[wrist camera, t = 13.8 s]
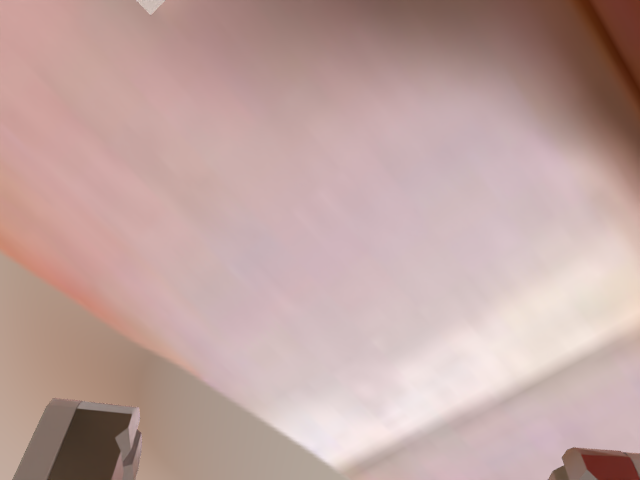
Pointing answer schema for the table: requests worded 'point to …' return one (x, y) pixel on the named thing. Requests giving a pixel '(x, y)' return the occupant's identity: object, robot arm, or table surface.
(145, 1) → the lever board
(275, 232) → the table surface
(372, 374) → the table surface
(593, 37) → the table surface
